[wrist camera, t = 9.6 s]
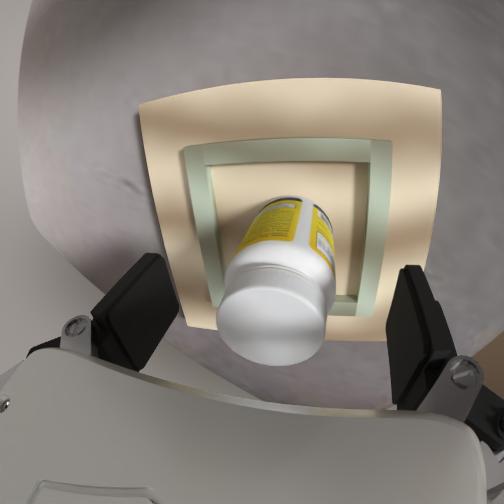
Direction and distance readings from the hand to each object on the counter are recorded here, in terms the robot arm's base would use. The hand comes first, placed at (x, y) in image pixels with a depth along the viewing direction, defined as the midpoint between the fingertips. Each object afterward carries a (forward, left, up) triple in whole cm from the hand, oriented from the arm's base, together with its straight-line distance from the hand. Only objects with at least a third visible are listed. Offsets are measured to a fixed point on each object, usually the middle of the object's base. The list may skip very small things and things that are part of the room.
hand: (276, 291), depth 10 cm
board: (+1, 0, -8) cm, 8 cm away
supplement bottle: (+1, 0, -7) cm, 7 cm away
